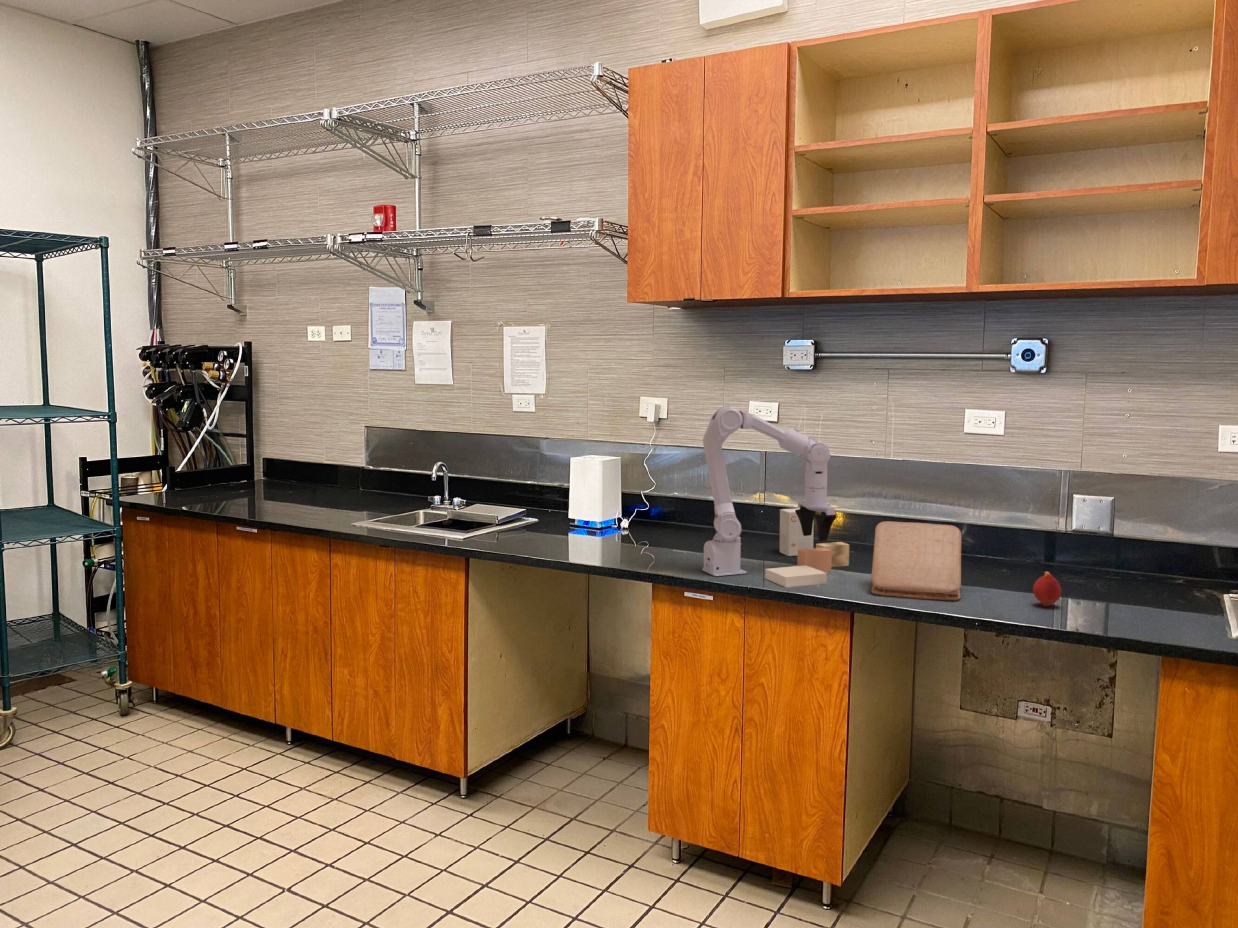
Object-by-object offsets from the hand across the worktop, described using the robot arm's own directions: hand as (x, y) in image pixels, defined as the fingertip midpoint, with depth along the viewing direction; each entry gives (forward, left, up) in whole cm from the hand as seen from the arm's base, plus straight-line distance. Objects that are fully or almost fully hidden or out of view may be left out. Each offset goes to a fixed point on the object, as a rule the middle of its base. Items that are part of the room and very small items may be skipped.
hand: (814, 537), depth 238 cm
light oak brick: (+9, +5, -9) cm, 14 cm away
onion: (+30, -49, -9) cm, 58 cm away
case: (+13, -25, -10) cm, 30 cm away
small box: (+8, +22, -9) cm, 25 cm away
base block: (-10, -7, -10) cm, 16 cm away
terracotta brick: (0, 0, -9) cm, 9 cm away
